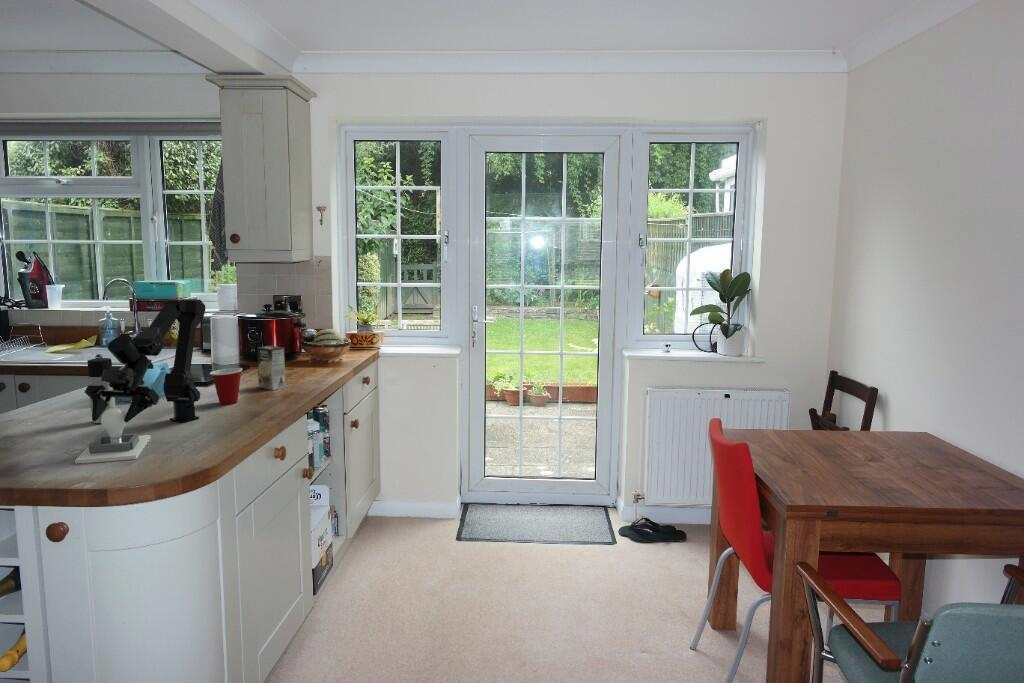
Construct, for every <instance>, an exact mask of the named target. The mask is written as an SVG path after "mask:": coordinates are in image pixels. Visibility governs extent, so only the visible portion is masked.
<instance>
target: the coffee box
mask: <svg viewBox="0 0 1024 683" xmlns="http://www.w3.org/2000/svg"><path fill="white" fill-rule="evenodd" d="M256 349H257V350H256V354H257V357H256V358H257V377H258V378H257V379H258V380H257V381H258V382H257V383H258V388H263V389H265V390H271V391H274V390H278V389H284V388H286V368H285V347H283V346H282V347H281V346H277V345H276V346H275V345H264V346H258V347H256Z"/></svg>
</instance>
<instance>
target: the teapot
mask: <svg viewBox="0 0 1024 683" xmlns="http://www.w3.org/2000/svg"><path fill="white" fill-rule="evenodd" d="M124 366H125V365H123V366H121V367H120V368H119V369H118V370H122V369H123V368H124ZM153 367H154V368H153V369H147V371H146V373H145V375H144V377H143V379H142V380H143V381H144V384H143V385H140V386H151V387H152V388H153V390H154V391H155V392H156V393H157V394H158V395H159V398H160V399H162V398H161V397H163V398H164V397H165V394H164V390H163V388H164V386H163V385H164V381H165V375H166V373H170V372H171V370H170V367H169V365H168V362H165V361H161V362H159V363H157V364H153ZM116 399H118V401H120V400H122V401H121V402H124V401H132V398H119V397H116Z"/></svg>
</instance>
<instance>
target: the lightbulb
mask: <svg viewBox="0 0 1024 683" xmlns="http://www.w3.org/2000/svg"><path fill="white" fill-rule="evenodd" d="M126 413H127V412H126V411H125V410H124V409H123V408H121V407H118V406H115V407H112V408H109V409H107V410H105V411H104V412H103V414H102V415H101V426H102V427H103V428H104V429H105V430H106V431H107V434H108V435H109V436H110V441H111V444H115V443H122V440H121V439H122V438H121V435H122V434H123V431H124V428H125V427H126V424H127V423H126V422H125V421H124V419H125V416H126Z"/></svg>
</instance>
